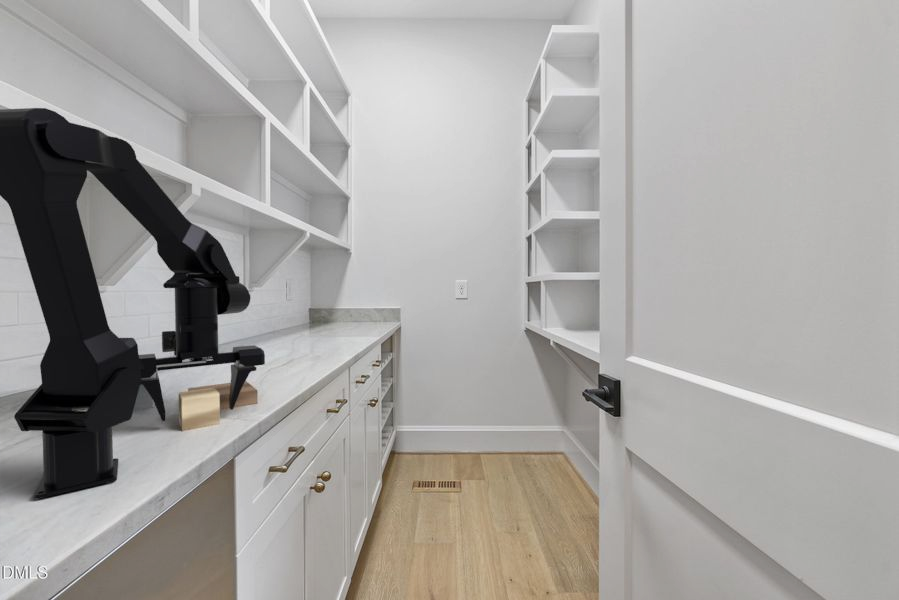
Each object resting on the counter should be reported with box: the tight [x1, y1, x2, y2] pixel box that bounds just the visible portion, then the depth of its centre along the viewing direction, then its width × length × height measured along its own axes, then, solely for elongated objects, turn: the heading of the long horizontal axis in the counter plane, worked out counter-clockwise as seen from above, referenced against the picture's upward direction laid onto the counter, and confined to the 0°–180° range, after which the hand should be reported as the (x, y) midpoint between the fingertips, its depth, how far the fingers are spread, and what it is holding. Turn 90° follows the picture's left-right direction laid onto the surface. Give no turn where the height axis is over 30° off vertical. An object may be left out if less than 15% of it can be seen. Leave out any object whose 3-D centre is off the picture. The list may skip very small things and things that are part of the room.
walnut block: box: [187, 380, 259, 411], centre depth 76 cm, size 10×10×3 cm
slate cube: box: [133, 385, 154, 412], centre depth 73 cm, size 5×5×5 cm
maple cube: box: [178, 388, 221, 432], centre depth 64 cm, size 5×5×5 cm
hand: (199, 414), depth 64 cm, fingers open, 9 cm apart
